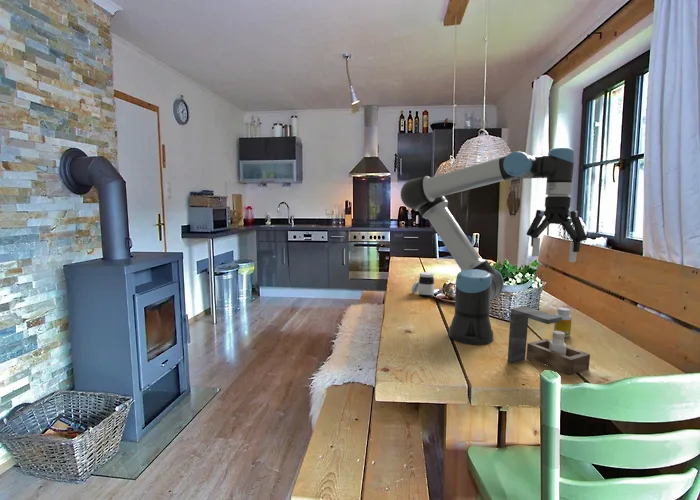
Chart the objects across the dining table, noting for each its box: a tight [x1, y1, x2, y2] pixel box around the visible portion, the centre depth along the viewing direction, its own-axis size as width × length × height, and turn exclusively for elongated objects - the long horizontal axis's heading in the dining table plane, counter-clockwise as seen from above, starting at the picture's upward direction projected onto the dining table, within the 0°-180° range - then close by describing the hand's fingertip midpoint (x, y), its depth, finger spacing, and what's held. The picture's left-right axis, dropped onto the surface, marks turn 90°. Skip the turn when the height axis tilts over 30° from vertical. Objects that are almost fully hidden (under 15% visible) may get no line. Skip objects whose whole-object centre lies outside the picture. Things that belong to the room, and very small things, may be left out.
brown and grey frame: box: [506, 306, 591, 376], centre depth 114 cm, size 14×18×17 cm
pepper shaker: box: [549, 330, 568, 356], centre depth 117 cm, size 4×4×10 cm
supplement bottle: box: [553, 307, 572, 338], centre depth 142 cm, size 5×5×10 cm
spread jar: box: [410, 271, 435, 299], centre depth 198 cm, size 12×11×12 cm
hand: (553, 258), depth 133 cm, fingers open, 13 cm apart
